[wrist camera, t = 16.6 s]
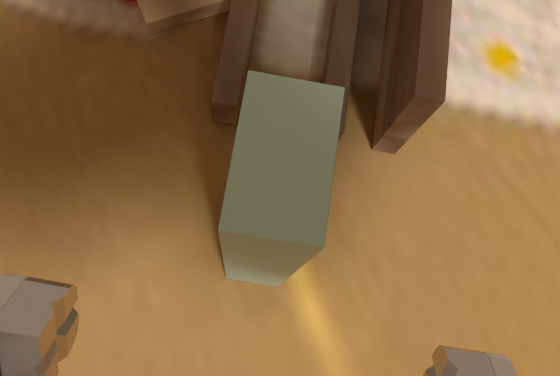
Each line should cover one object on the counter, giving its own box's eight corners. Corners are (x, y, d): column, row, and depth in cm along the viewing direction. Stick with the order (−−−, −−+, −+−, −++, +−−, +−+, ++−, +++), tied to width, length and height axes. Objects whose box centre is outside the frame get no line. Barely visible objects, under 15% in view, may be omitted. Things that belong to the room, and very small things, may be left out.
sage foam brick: (289, 204, 31) (344, 87, 15) (276, 286, 30) (323, 247, 14) (241, 196, 31) (248, 69, 15) (226, 278, 29) (217, 230, 14)
